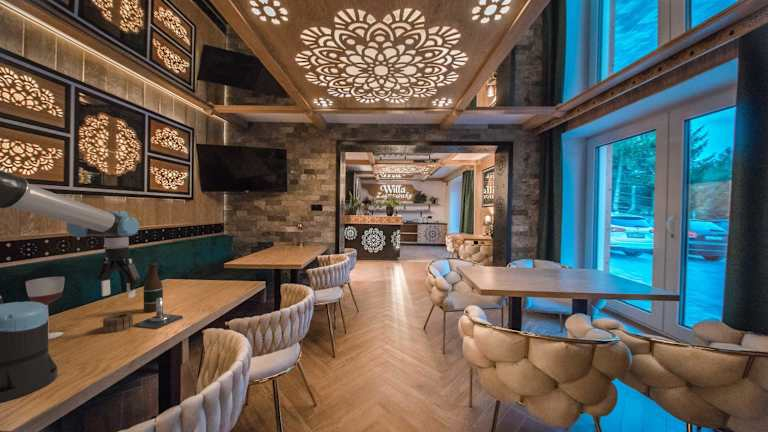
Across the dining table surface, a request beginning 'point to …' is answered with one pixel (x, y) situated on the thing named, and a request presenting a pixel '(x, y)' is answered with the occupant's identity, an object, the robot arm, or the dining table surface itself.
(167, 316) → the post
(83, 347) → the dining table surface
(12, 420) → the dining table surface
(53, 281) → the wineglass
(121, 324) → the ring
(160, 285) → the beer bottle
